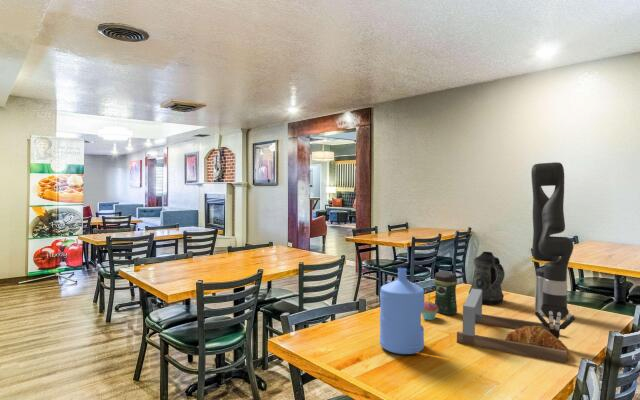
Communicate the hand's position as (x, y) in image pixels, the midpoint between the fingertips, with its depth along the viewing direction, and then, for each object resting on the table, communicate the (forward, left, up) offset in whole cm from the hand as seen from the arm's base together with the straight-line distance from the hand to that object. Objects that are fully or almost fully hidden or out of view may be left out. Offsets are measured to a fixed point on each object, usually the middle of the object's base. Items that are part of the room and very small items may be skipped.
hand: (554, 339), depth 135 cm
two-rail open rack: (0, -13, -2) cm, 14 cm away
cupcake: (-8, -47, -3) cm, 47 cm away
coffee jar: (-20, -41, -3) cm, 46 cm away
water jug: (+27, -48, -3) cm, 55 cm away
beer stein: (-50, -25, -3) cm, 56 cm away
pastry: (+6, -5, -3) cm, 8 cm away
